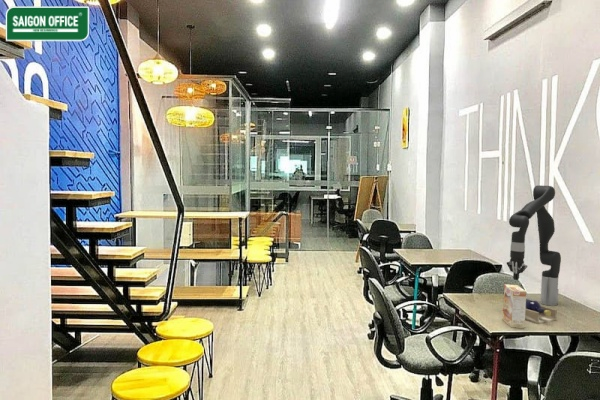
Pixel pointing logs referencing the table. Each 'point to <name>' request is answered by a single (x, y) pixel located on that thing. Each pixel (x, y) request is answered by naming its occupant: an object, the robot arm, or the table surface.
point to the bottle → (536, 307)
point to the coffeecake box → (514, 306)
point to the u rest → (540, 316)
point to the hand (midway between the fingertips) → (515, 279)
